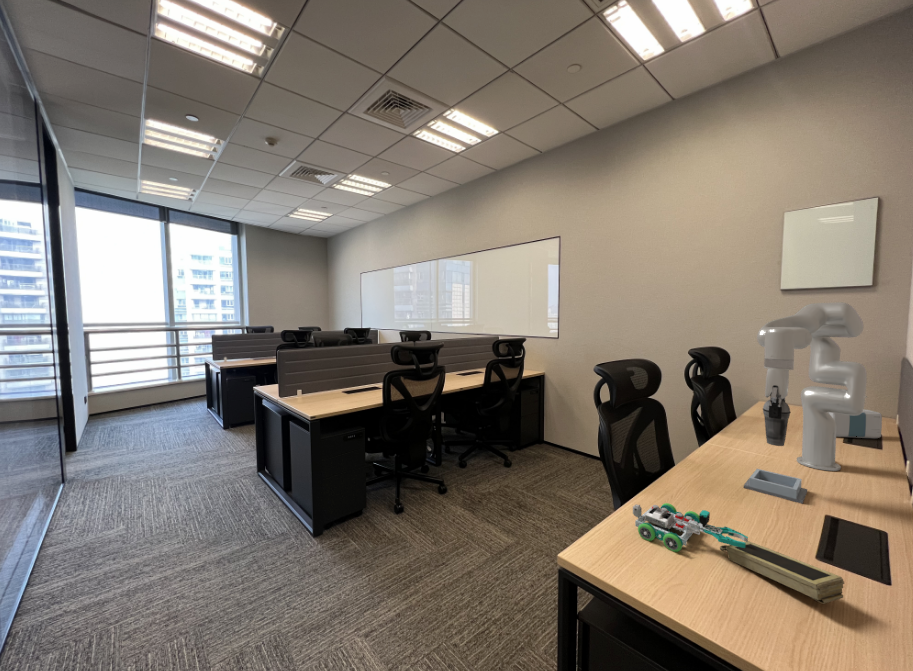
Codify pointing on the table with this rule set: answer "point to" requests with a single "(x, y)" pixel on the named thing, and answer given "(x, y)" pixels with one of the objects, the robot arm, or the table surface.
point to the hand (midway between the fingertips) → (777, 415)
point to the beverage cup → (776, 425)
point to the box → (788, 571)
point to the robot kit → (680, 526)
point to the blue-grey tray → (777, 485)
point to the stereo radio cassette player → (858, 424)
